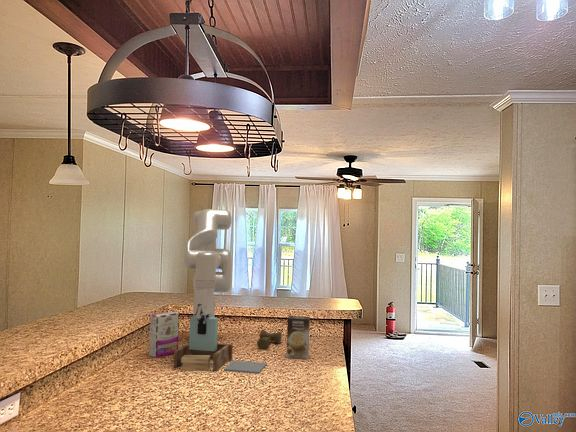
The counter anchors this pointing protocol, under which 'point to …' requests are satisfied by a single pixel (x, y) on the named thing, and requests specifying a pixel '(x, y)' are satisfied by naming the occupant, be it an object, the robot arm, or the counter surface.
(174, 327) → the candy bar box
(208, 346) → the pale teal block
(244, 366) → the slate mat
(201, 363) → the offcut stack
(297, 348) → the coffee box
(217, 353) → the frame
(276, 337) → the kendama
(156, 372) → the counter surface
